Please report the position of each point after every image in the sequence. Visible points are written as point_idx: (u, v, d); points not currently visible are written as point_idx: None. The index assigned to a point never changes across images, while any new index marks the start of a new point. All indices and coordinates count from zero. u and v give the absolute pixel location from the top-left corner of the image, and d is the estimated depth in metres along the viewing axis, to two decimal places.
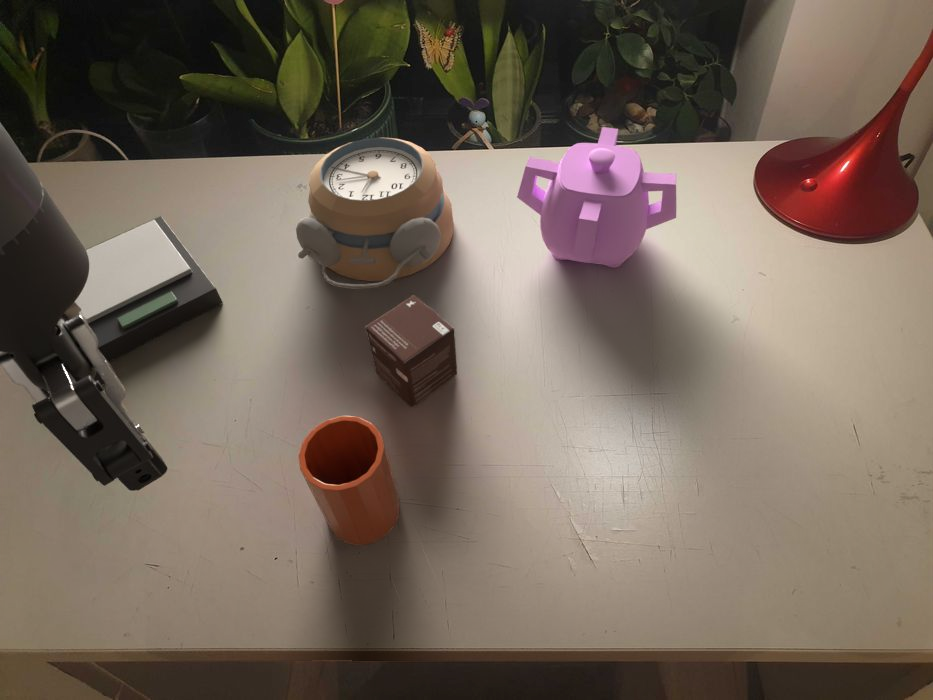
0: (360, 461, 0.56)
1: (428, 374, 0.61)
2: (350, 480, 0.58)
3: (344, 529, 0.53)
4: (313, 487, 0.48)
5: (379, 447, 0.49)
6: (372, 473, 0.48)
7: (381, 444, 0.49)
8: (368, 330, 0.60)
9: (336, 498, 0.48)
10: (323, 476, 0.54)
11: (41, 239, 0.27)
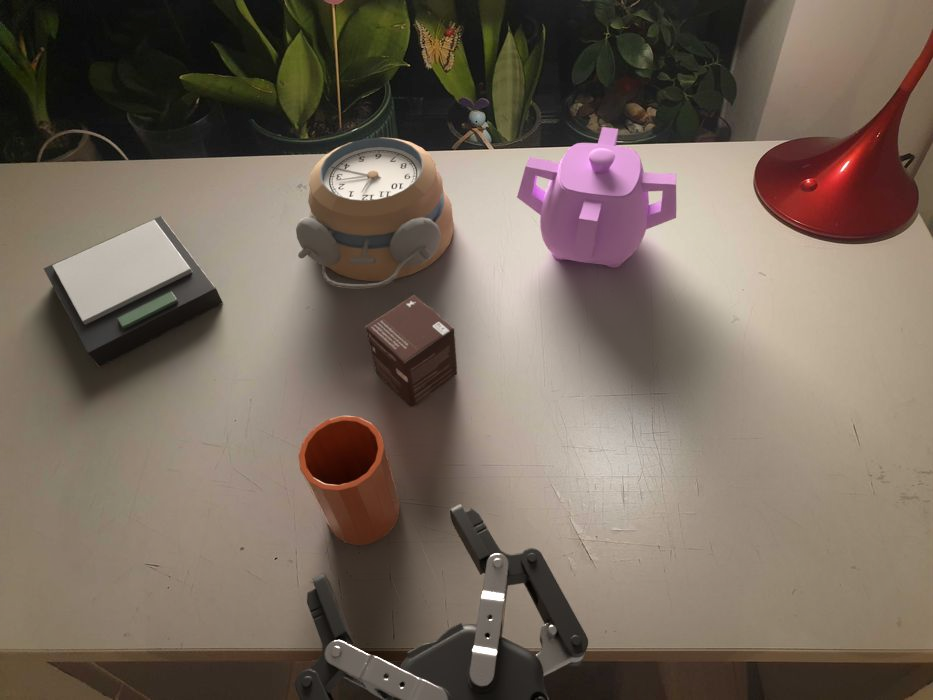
0: (360, 461, 0.56)
1: (428, 375, 0.61)
2: (350, 480, 0.58)
3: (344, 529, 0.53)
4: (313, 487, 0.48)
5: (379, 447, 0.49)
6: (372, 473, 0.48)
7: (381, 444, 0.49)
8: (368, 330, 0.60)
9: (336, 498, 0.48)
10: (323, 476, 0.54)
11: None
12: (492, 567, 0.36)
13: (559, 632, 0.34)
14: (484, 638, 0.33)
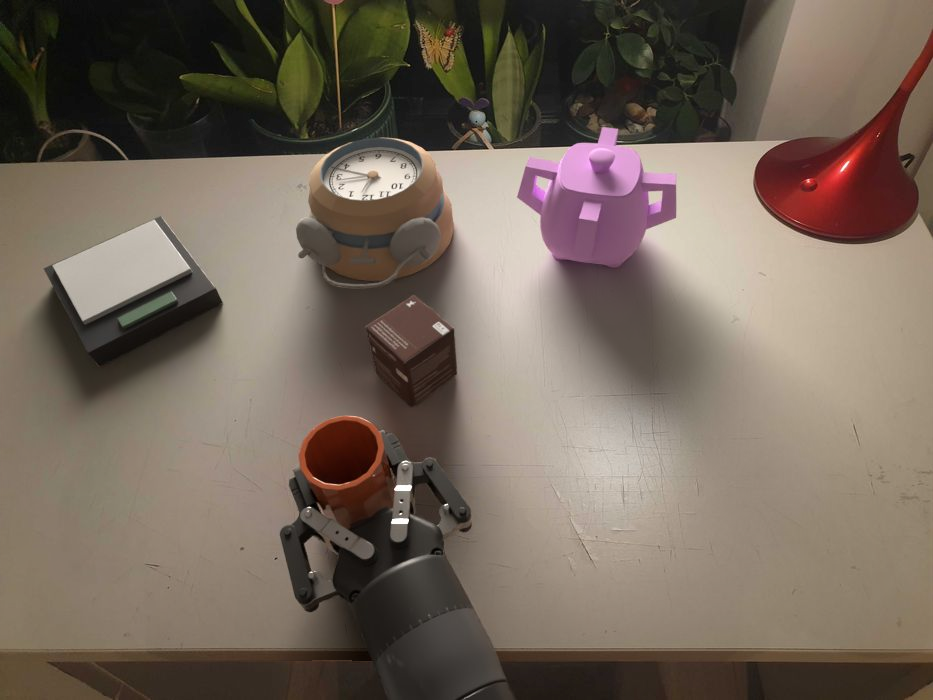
0: (360, 461, 0.56)
1: (428, 374, 0.61)
2: (350, 480, 0.58)
3: None
4: (313, 487, 0.48)
5: (379, 447, 0.49)
6: (372, 473, 0.48)
7: (381, 444, 0.49)
8: (368, 330, 0.60)
9: (336, 498, 0.48)
10: (323, 476, 0.54)
11: None
12: (401, 470, 0.51)
13: (451, 507, 0.49)
14: (399, 514, 0.48)
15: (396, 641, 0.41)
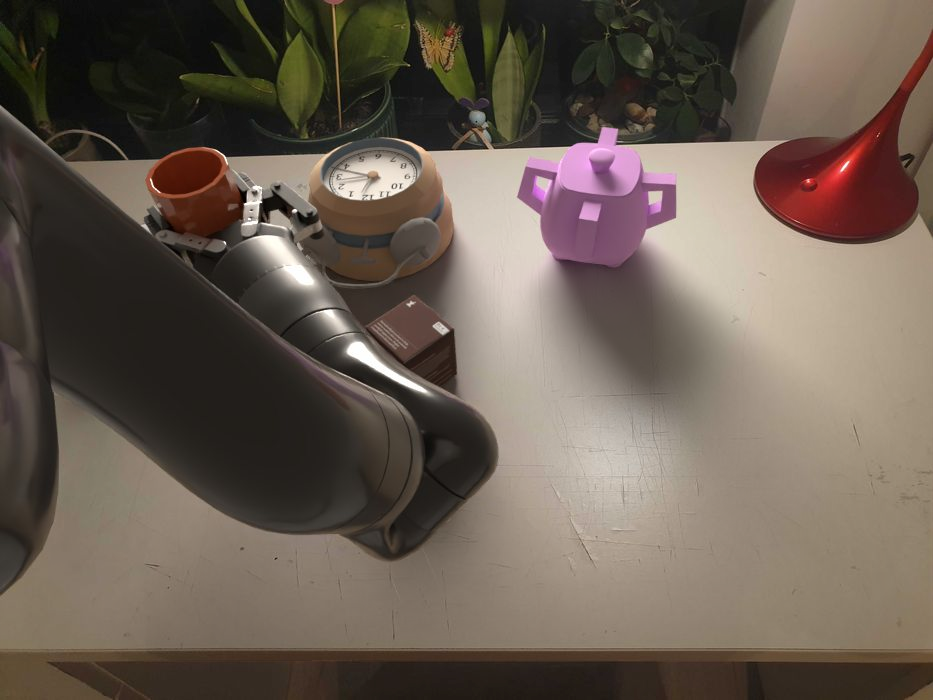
0: None
1: (428, 374, 0.61)
2: None
3: None
4: (162, 203, 0.51)
5: (223, 164, 0.52)
6: (217, 182, 0.51)
7: (225, 162, 0.52)
8: (368, 330, 0.60)
9: (186, 211, 0.51)
10: None
11: None
12: (251, 193, 0.54)
13: (299, 211, 0.52)
14: (248, 219, 0.51)
15: (246, 291, 0.45)
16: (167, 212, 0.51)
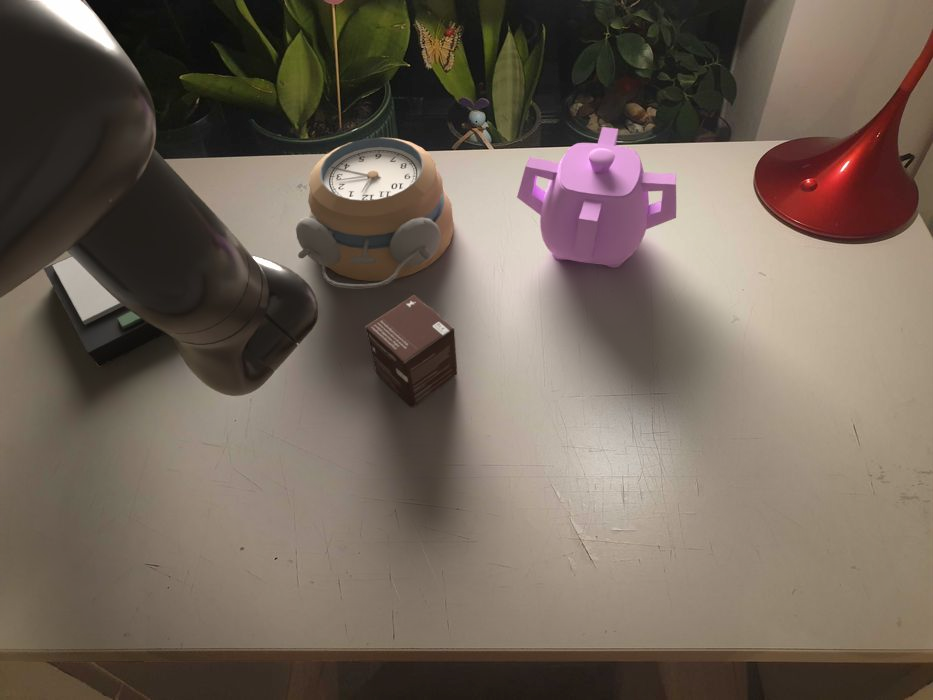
0: None
1: (428, 375, 0.61)
2: None
3: None
4: None
5: None
6: None
7: None
8: (368, 330, 0.60)
9: None
10: None
11: None
12: None
13: None
14: None
15: None
16: None
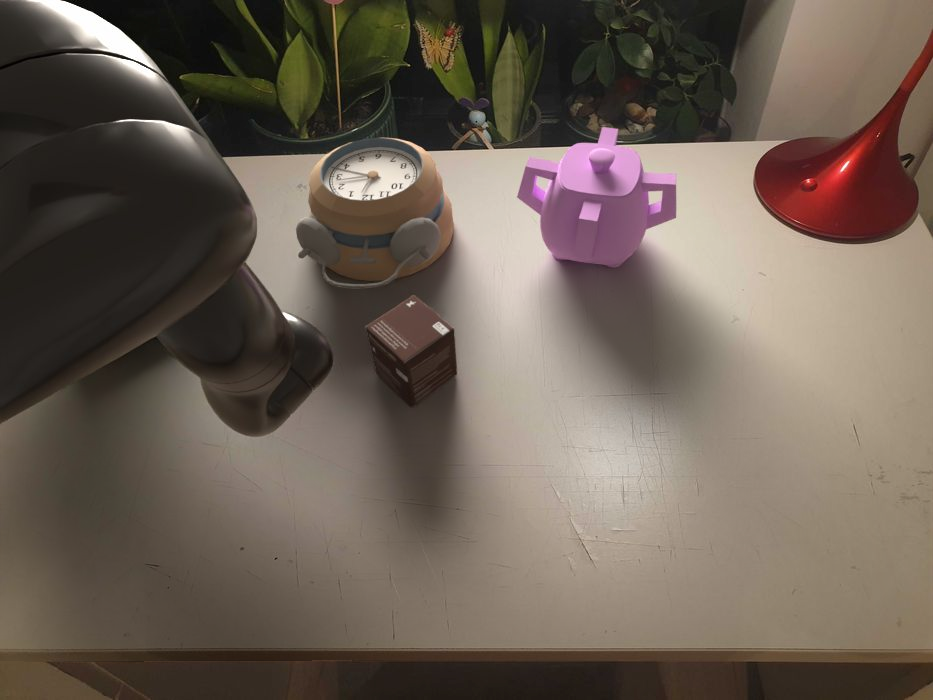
0: None
1: (428, 374, 0.61)
2: None
3: None
4: None
5: None
6: None
7: None
8: (368, 330, 0.60)
9: None
10: None
11: None
12: None
13: None
14: None
15: None
16: None
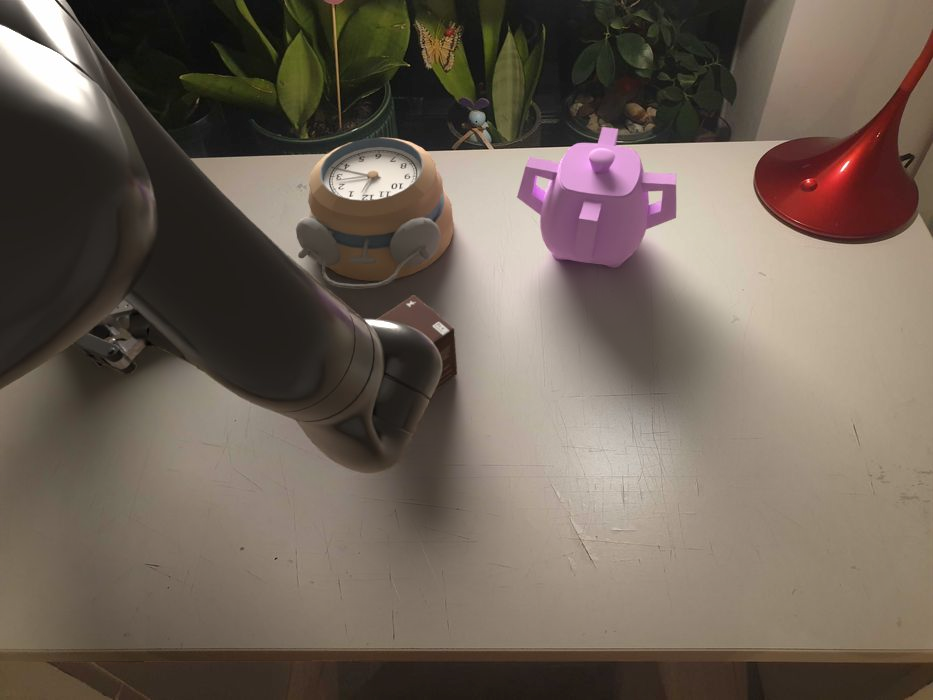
0: None
1: None
2: None
3: None
4: None
5: None
6: None
7: None
8: None
9: None
10: None
11: None
12: None
13: None
14: None
15: None
16: None
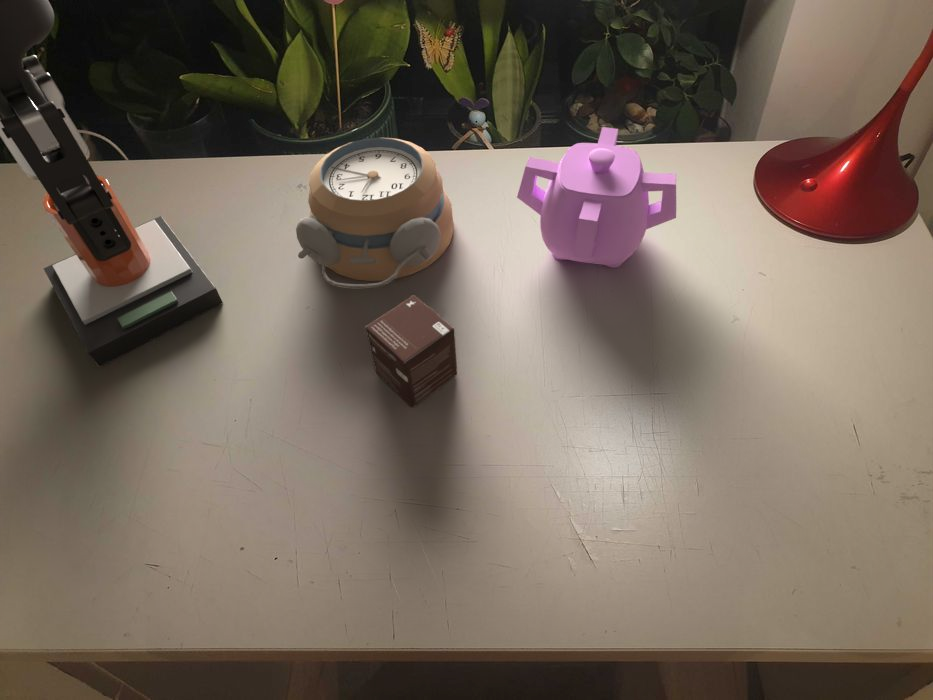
0: None
1: (428, 374, 0.61)
2: None
3: (102, 266, 0.69)
4: (59, 219, 0.64)
5: (106, 185, 0.66)
6: None
7: (107, 183, 0.67)
8: (368, 330, 0.60)
9: None
10: None
11: None
12: None
13: None
14: None
15: None
16: (64, 226, 0.65)
